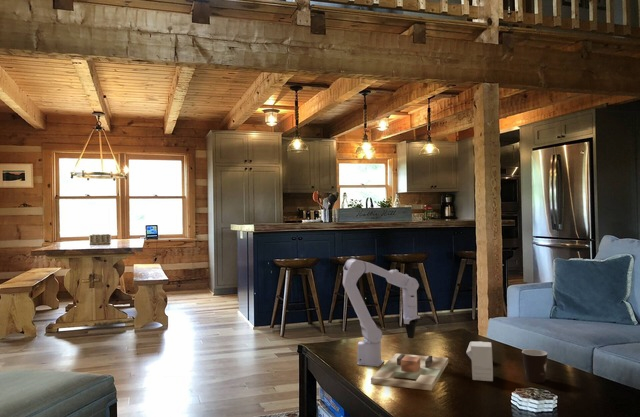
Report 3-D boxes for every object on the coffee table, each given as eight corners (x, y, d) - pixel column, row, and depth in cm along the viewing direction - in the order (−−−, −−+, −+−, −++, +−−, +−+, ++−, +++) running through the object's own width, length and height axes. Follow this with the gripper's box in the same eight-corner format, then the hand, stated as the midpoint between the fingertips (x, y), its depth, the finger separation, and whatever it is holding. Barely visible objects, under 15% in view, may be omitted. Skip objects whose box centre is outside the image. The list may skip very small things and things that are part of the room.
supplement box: (493, 375, 189) (492, 342, 189) (493, 381, 182) (492, 346, 182) (472, 374, 191) (471, 340, 191) (471, 380, 184) (470, 345, 184)
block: (401, 370, 191) (401, 360, 191) (405, 366, 196) (404, 355, 196) (416, 372, 188) (416, 361, 188) (420, 367, 194) (420, 357, 194)
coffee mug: (537, 385, 177) (536, 356, 177) (517, 378, 185) (516, 351, 185) (559, 379, 182) (558, 352, 182) (539, 373, 190) (538, 347, 190)
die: (485, 366, 202) (494, 345, 205) (466, 355, 204) (475, 334, 207) (479, 368, 210) (488, 347, 213) (460, 357, 211) (469, 337, 214)
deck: (371, 383, 183) (370, 371, 183) (395, 358, 215) (395, 347, 215) (431, 390, 174) (431, 377, 174) (448, 362, 206) (447, 351, 206)
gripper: (415, 308, 203) (416, 342, 203) (423, 303, 217) (423, 334, 216) (398, 308, 206) (399, 341, 206) (407, 302, 219) (407, 333, 219)
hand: (410, 337), depth 211 cm, fingers closed
